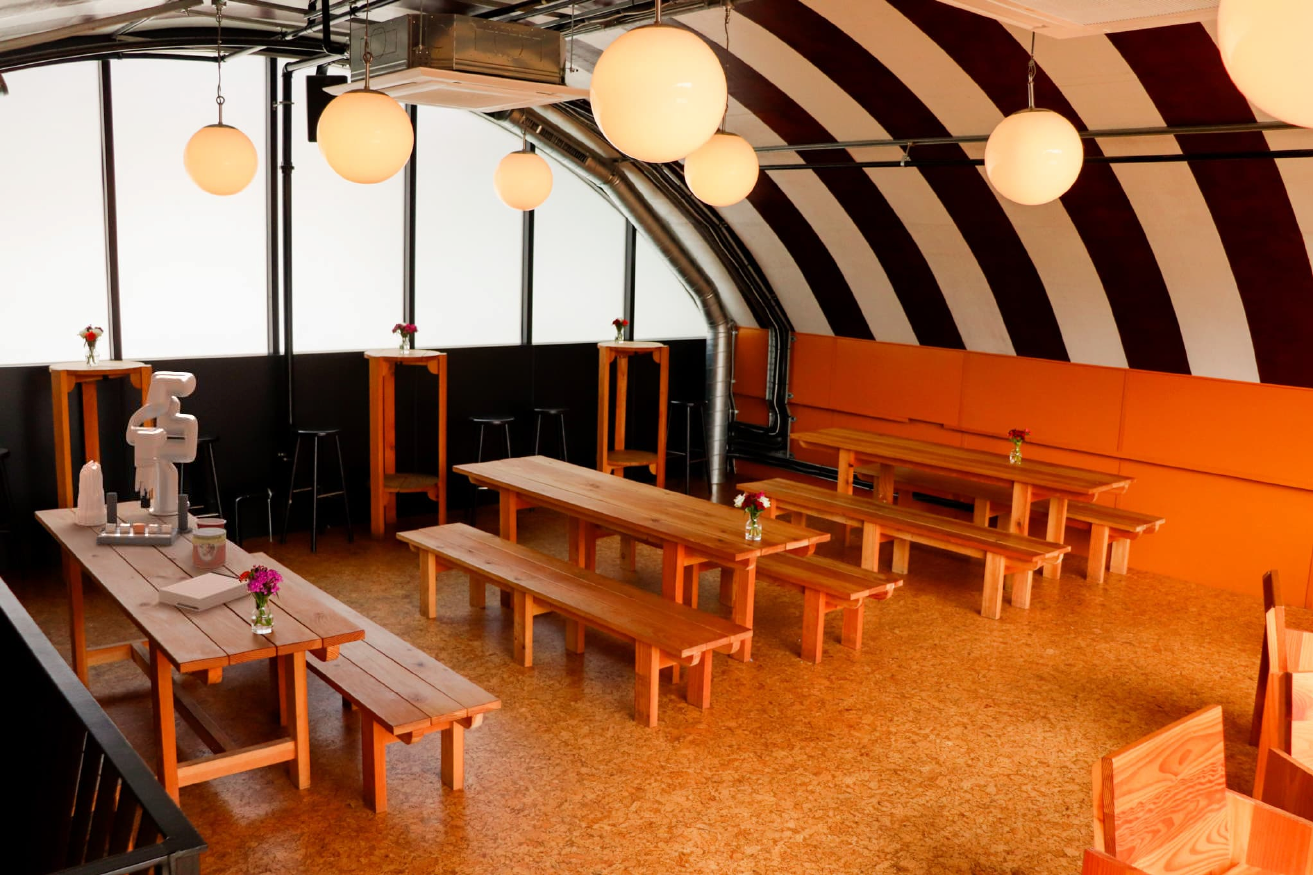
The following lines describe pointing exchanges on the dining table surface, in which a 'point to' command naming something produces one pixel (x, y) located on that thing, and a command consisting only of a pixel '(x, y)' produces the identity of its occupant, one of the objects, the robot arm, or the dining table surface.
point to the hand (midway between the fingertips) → (145, 507)
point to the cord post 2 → (183, 514)
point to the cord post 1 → (111, 509)
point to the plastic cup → (210, 523)
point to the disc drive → (203, 591)
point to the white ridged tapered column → (91, 496)
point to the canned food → (209, 547)
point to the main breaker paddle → (139, 527)
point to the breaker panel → (138, 535)
